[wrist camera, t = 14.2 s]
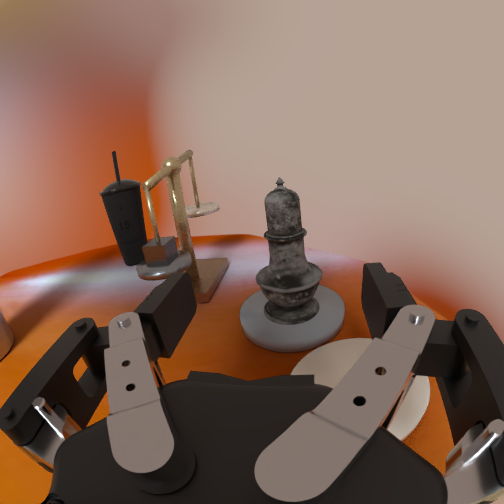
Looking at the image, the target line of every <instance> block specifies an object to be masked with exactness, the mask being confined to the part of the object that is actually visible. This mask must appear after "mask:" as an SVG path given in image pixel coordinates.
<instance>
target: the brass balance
mask: <svg viewBox="0 0 504 504" xmlns="http://www.w3.org/2000/svg"><path fill="white" fill-rule="evenodd" d="M192 155H193V152H192V151H191V150H187V151H186V152H184V153H183V154H182V155H180V156H179V157H178V158H175V157H169V158H167V159H165V160H164V162H163V163H162V166H161V167H162V169H161V170H160V171H159V172H157V173H156V174H155V175H153V176H152V177H151V178H150V179H148V180H147V181H146V182H145V183H143V185H142V188H143V190H144V191H145V195H146V200H147V205H148V209H149V214H150V219H151V223H152V228H153V232H154V236H155V238H153V239H152V240H151V241H149V242H148V243H147V244H145V245H144V246H143V247H142V250H143V254H144V257H145V259H144V260H143V261H141V262H140V263H139V264H138V265H137V268H136V269H137V273H138V276H139V277H140V278H141V279H143V280H161V279H166V278H168V277H169V276H170V274H171V273H179V272H187V273H188V274H189V275H190V278H191V282H192V286H193V290H194V294H195V298H196V303H209V301H210V299H211V297H212V295H213V293H214V292H215V290H216V288H217V286H218V284H219V282H220V280H221V279H222V277H223V275H224V273H225V271H226V269H227V268H228V266H229V265H228V259H227V258H215V259H196V258H195V254H194V249H193V244H192V239H191V235H190V230H189V225H188V219H187V218H192V217H199V216H204V215H208V214H211V213H214V212H216V211H218V210H219V209H220V208H219V203H216V202H209V203H201V204H199V199H198V193H197V187H196V181H195V175H194V168H193V162H192ZM187 159H189V165H190V171H191V178H192V184H193V190H194V196H195V201H196V204H195V205H191V206H187V207H185V203H184V199H183V192H182V187H181V181H180V175H179V172H180V171H181V164H182V163H183V162H185V161H186V160H187ZM165 177H166V178H167V184H168V189H169V195H170V200H171V205H172V210H173V216H174V220H175V225H176V230H177V235H178V239H179V244H180V248H181V250H177V246H176V242H175V237H174V236H173V237H162V238H160V237H159V232H158V228H157V223H156V219H155V215H154V210H153V205H152V200H151V195H150V190H151V189H152V188H154V187H155V186H156V185H157V184H158V183H159V182H160V181H162V180H163V179H164V178H165Z"/></svg>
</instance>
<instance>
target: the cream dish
mask: <svg viewBox="0 0 504 504" xmlns="http://www.w3.org/2000/svg"><path fill="white" fill-rule="evenodd" d="M371 342H372V339H369V338H351V339H344V340H339V341H335V342H331V343H328V344H326V345H323V346H321V347H319V348H317V349H315V350H313V351H312V352H310V353H309V354H307V355H306V356H305V357H304V358H302V360H301V361H300V362H299V363H298V364H297V365H296V366H295V368H294V369H293V371H292V373H291V374H290V375H312V374H314V383H315V384H320V385H324V386H328V387H331V388H333V389H334V388H335V386H336V385H337V384H338V383H339V382H340V381H341V379H342V378H343V377H344V376H345V375H346V373H347V372H348V371H349V370H350V369H351V367H352V366H353V365H354V364H355V362H356V361H357V360H358V359H359V357H360V356H361V355H362V353H363V352H364V351H365V350H366V348H367V347H368V346H369V344H370V343H371ZM429 398H430V384H429V379H428V376H418V375H417V376H416V378H415V380H414V382H413V384H412V386H411V388H410V390H409V392H408V394H407V396H406V397H405V399H404V401H403V403H402V405H401V407H400V408H399V410H398V412H397V414H396V416H395V418H394V419H393V421H392V423H391V425H390V427H389V428H388V431H389V432H391V433H392V434H393V435H394V436H396V437H397V438H398V439H399V440H401V441H404V440H405V439H406V438H407V437H408V436H409V435H410V434H411V433H412V432H413V430H414V429H415V428H416V426H417V425H418V423H419V421H420V420H421V418H422V416H423V415H424V413H425V411H426V408H427V406H428V403H429Z"/></svg>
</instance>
